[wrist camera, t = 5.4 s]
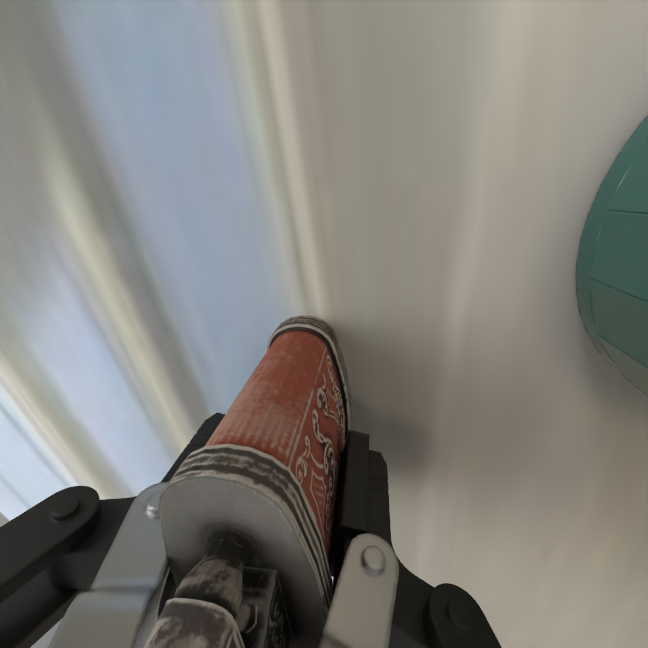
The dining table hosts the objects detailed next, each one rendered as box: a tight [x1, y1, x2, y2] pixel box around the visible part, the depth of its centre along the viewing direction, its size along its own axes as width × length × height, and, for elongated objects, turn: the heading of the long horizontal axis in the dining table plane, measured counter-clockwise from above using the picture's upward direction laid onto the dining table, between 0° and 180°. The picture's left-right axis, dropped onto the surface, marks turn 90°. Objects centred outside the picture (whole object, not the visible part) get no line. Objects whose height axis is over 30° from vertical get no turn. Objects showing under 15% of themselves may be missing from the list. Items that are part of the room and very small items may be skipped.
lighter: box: [144, 316, 352, 648], centre depth 9 cm, size 8×3×10 cm, turn 5°
